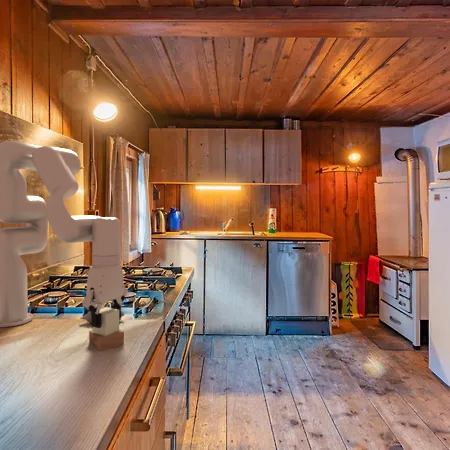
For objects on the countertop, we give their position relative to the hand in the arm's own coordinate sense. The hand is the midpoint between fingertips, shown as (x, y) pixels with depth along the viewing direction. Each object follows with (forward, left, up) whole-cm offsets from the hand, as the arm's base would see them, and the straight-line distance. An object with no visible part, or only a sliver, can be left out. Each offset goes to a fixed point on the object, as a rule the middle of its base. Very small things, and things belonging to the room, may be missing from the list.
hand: (106, 322), depth 98 cm
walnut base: (0, 0, -6) cm, 6 cm away
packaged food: (-15, +13, -7) cm, 21 cm away
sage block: (0, 0, -2) cm, 3 cm away
